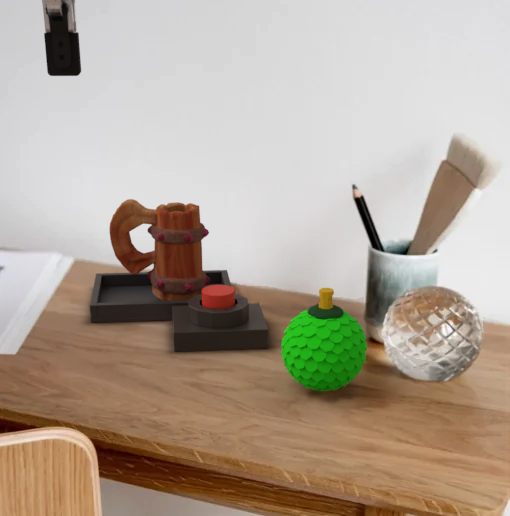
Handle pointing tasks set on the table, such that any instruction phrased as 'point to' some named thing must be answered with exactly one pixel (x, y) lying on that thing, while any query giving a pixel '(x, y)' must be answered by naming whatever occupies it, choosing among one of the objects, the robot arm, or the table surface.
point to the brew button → (218, 296)
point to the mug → (163, 247)
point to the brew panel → (219, 326)
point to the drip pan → (135, 297)
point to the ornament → (324, 346)
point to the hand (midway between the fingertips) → (64, 74)
